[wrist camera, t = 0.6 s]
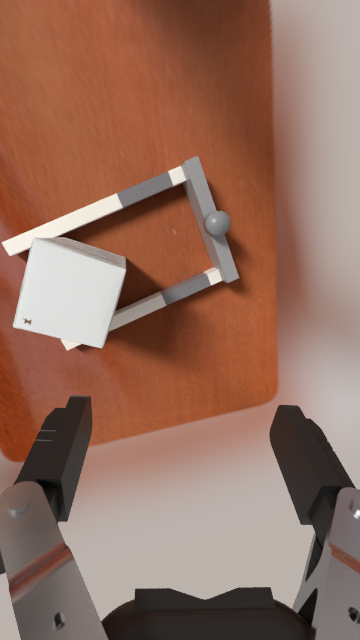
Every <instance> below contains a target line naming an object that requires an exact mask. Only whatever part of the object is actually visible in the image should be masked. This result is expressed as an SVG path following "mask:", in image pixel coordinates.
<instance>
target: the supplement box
mask: <svg viewBox="0 0 360 640" xmlns="http://www.w3.org/2000/svg"><path fill="white" fill-rule="evenodd" d="M125 274H126V258H125V257H123V256H120V255H117V254H114V253H111V252H108V251H105V250H102V249H99V248H96V247H93V246H90V245H87V244H84V243H81V242H78V241H75V240H72V239H69V238H65V237H63V238H62V237H56V238H37V237H35V238H33V240H32V243H31V248H30V252H29V257H28V262H27V266H26V270H25V275H24V279H23V283H22V287H21V293H20V297H19V302H18V306H17V311H16V315H15V319H14V323H13V327H14V328H18V329H23V330H27V331H31V332H36V333H40V334H45V335H49V336H53V337H57V338H61V339H65V340H69V341H73V342H77V343H81V344H85V345H89V346H93V347H98V348H103V346H104V344H105V341H106V338H107V335H108V332H109V329H110V326H111V323H112V320H113V316H114V313H115V310H116V307H117V303H118V300H119V296H120V293H121V289H122V285H123V282H124V278H125Z"/></svg>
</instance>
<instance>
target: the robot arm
mask: <svg viewBox="0 0 360 640" xmlns="http://www.w3.org/2000/svg"><path fill="white" fill-rule="evenodd" d="M91 432H92V408H91V397H90V396H79V395H71V396H70V398H69V401H68V403H67V406H66V408H55V409H54V410H53V411H52V412H51V413H50V414H49V415H48V416H47V417H46V419H45V421H44V423H43V425H42V427H41V429H40V432H39V433H38V435H37V438H36V441H35V442H34V444H33V446H32V448H31V450H30V452H29V454H28V457H27V459H26V461H25V463H24V465H23V467H22V469H21V471H20V474H19V476H18V478H17V480H16V481H15V483H14V484H13V485H12V486H11V487H9V488H7V489H6V490H5V491H4V492H3V493H2V494H1V495H0V574H3V573H6V574H7V578H8V582H9V592H10V597H11V601H12V605H13V609H14V613H15V617H16V621H17V625H18V629H19V633H20V637H21V640H360V490H358V489H356V488H355V486H354V485H353V483H352V481H351V479H350V478H349V476H348V474H347V473H346V471H345V469H344V467H343V466H342V464H341V462H340V461H339V459H338V457H337V455H336V454H335V452H334V451H333V449H332V447H331V445H330V443H329V442H327V439H326V437H325V435H324V433H323V431H322V430H321V428H320V427H319V426H318V425H317V424H315V423H314V422H313V421H312V420H311V419H306V418H305V416H304V414H303V412H302V411H301V409H300V407H298V406H292V405H279V406H278V409H277V411H276V414H275V417H274V420H273V423H272V426H271V428H270V442H271V445H272V448H273V451H274V454H275V456H276V459H277V462H278V464H279V467H280V470H281V472H282V475H283V478H284V480H285V483H286V486H287V488H288V491H289V494H290V496H291V499H292V502H293V504H294V507H295V510H296V512H297V515H298V518H299V520H300V523H301V525H313V528H314V530H315V534H314V536H313V539H312V543H311V547H310V551H309V555H308V559H307V563H306V567H305V571H304V575H303V579H302V583H301V586H300V590H299V592H298V594H297V597H296V599H295V602H294V605H293V608H292V609H291V608H289V607H288V606H286V605H285V604H283V603H281V602H279V601H277V600H274V599H273V596H272V592H271V588H270V587H262V588H261V587H259V588H258V587H254V588H236V589H234V590H231V591H228V592H226V593H223V594H221V595H218V596H215V597H213V598H210V599H207V600H203V599H200V598H197V597H194V596H191V595H188V594H185V593H181V592H179V591H176V590H173V589H170V588H167V589H135V599H134V600H131V601H129V602H126V603H124V604H123V605H121V606H119V607H117V608H116V609H115V610H113V611H112V612H111V613H109V614H108V615H107V616H106V617H105V618H104V619H103V620H102V621H100V619H99V616H98V614H97V612H96V609H95V607H94V604H93V602H92V600H91V597H90V595H89V592H88V590H87V588H86V585H85V583H84V581H83V578H82V576H81V573H80V571H79V569H78V566H77V564H76V561H75V559H74V557H73V555H72V552H71V550H70V549H69V547H68V546H66V544H65V542H64V539H63V537H62V535H61V532H60V530H59V527H58V525H57V524H58V521H63V522H64V521H65V522H66V521H67V520H68V517H69V513H70V510H71V506H72V502H73V499H74V495H75V492H76V488H77V484H78V481H79V477H80V474H81V470H82V466H83V463H84V459H85V456H86V452H87V448H88V445H89V441H90V437H91Z"/></svg>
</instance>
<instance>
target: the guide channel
mask: <svg viewBox="0 0 360 640" xmlns="http://www.w3.org/2000/svg"><path fill="white" fill-rule="evenodd" d="M182 183H183V185H184V188H185V191H186V194H187V196H188V199H189V202H190V205H191V207H192V210H193V213H194V216H195V218H196V221H197V224H198V226H199V229H200V232H201V235H202V237H203V240H204V243H205V246H206V248H207V251H208V254H209V257H210V259H211V262H212V265H213V268H211V269H209V270H206V271H204V272H202V273H200V274H197V275H195V276H193V277H191V278H189V279H186V280H184V281H182V282H180V283H177V284H175V285H173V286H171V287H168V288H166V289H164V290H162V291H159V292H157V293H155V294H153V295H151V296H148V297H146V298H144V299H142V300H139V301H137V302H135V303H133V304H130V305H128V306H126V307H124V308H122V309H119V310H117V311H115V313H114V316H113V320H112V323H111V326H110V329H109V331H111V330H114V329H116V328H118V327H120V326H122V325H125V324H127V323H129V322H131V321H134V320H136V319H138V318H140V317H142V316H145V315H147V314H149V313H151V312H153V311H156V310H158V309H160V308H162V307H165V306H167V305H169V304H171V303H173V302H176V301H178V300H180V299H182V298H185V297H187V296H189V295H191V294H193V293H196V292H198V291H200V290H202V289H205V288H207V287H209V286H211V285H213V284H216V283H218V282H220V281H224V282H226V283H229V282H231V281H234V280H236V279H238V278H239V276H238V273H237V270H236V267H235V264H234V261H233V258H232V255H231V252H230V249H229V246H228V243H227V240H226V237H225V233H227V232H228V230H229V228H230V225H231V221H230V217H229V216H228V214H227V213H225V212H223V211H216V208H215V205H214V202H213V199H212V196H211V193H210V190H209V187H208V184H207V181H206V178H205V175H204V172H203V169H202V166H201V163H200V160H199V157H198V156H196V157H194V158H192V159H189V160H187V161H185V162H184V163H183V164H182V165H181V166H179V167H177V168H175V169H172V170H170V171H168V172H165V173H163V174H161V175H158V176H156V177H154V178H151V179H149V180H147V181H144V182H142V183H140V184H137V185H135V186H133V187H130V188H128V189H126V190H123V191H121V192H119V193H116V194H114V195H112V196H109V197H107V198H105V199H102V200H100V201H98V202H95V203H93V204H91V205H88V206H86V207H84V208H81V209H79V210H77V211H74V212H72V213H70V214H67V215H65V216H63V217H60V218H58V219H56V220H53V221H51V222H49V223H46V224H44V225H41V226H39V227H37V228H34V229H32V230H30V231H27V232H25V233H23V234H20V235H18V236H16V237H13V238H11V239H9V240H6V241H4V242H2V244H3V246H4V247H5V249H6V251H7V252H8V254H9V256H13V255H17V254H19V253H22V252H24V251H26V250H29V249H30V248H31V243H32V240H33V238H35V237H37V238H56V237H59V236H61V235H63V234H66V233H68V232H70V231H73V230H75V229H77V228H80V227H82V226H84V225H87V224H89V223H91V222H94V221H96V220H98V219H101V218H103V217H105V216H108V215H110V214H112V213H114V212H117V211H119V210H121V209H124V208H126V207H128V206H131V205H133V204H135V203H138V202H140V201H142V200H145V199H147V198H149V197H152V196H154V195H156V194H159V193H161V192H163V191H166V190H168V189H170V188H172V187H175V186H177V185H179V184H182ZM61 341H62V343H63V344H64V346H65V348H66V349H67V350H69V349H71V348H74V347H76V346H78V345H80V344H81V343H77V342H73V341H69V340H65V339H61Z"/></svg>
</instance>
